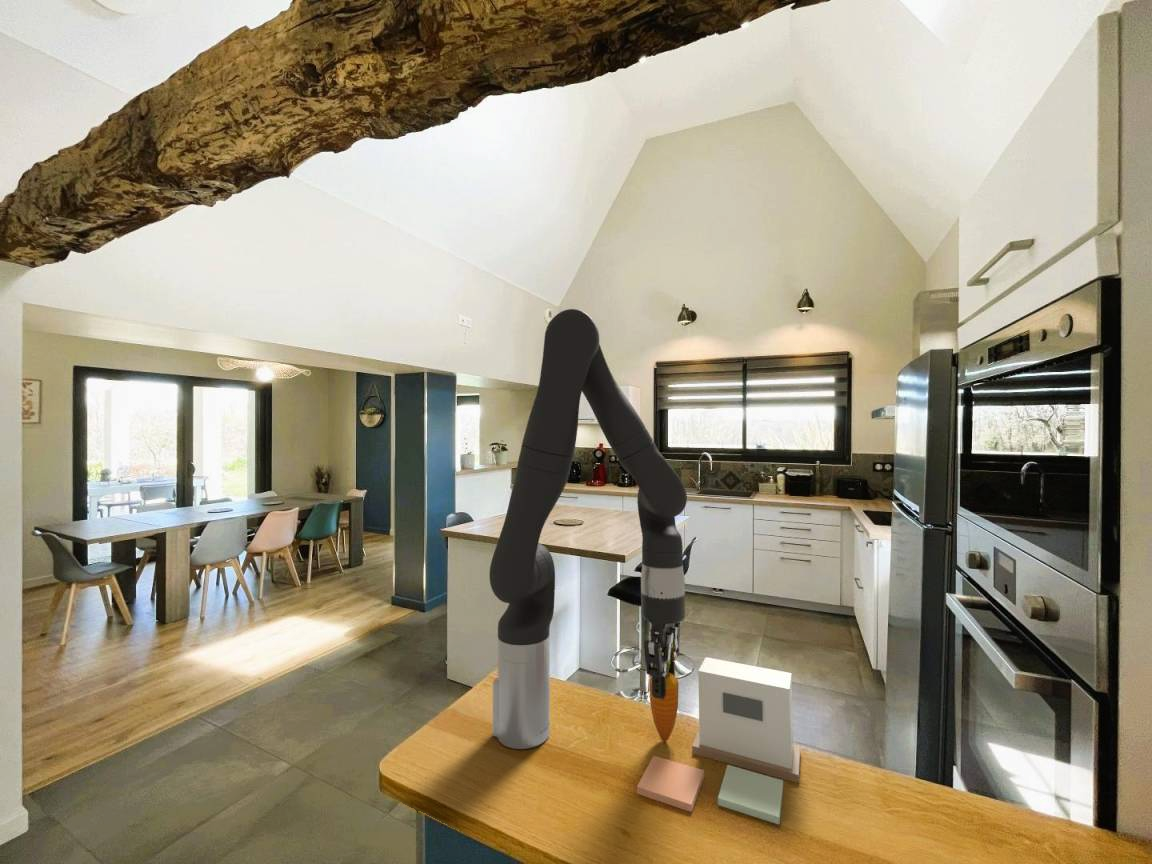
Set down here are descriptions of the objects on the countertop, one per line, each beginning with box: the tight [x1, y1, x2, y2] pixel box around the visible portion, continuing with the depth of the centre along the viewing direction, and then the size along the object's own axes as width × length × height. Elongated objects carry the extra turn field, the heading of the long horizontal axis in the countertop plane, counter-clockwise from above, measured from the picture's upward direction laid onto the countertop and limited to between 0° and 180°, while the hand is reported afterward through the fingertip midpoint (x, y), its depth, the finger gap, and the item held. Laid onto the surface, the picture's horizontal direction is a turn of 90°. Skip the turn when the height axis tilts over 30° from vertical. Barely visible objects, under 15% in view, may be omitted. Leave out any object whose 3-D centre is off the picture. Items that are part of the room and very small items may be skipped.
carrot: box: [648, 652, 679, 743], centre depth 82 cm, size 5×5×15 cm
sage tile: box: [717, 764, 784, 826], centre depth 69 cm, size 8×8×1 cm
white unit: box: [691, 656, 801, 784], centre depth 79 cm, size 16×8×13 cm, turn 63°
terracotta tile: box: [636, 755, 705, 813], centre depth 71 cm, size 8×8×1 cm
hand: (664, 688), depth 82 cm, fingers open, 5 cm apart
